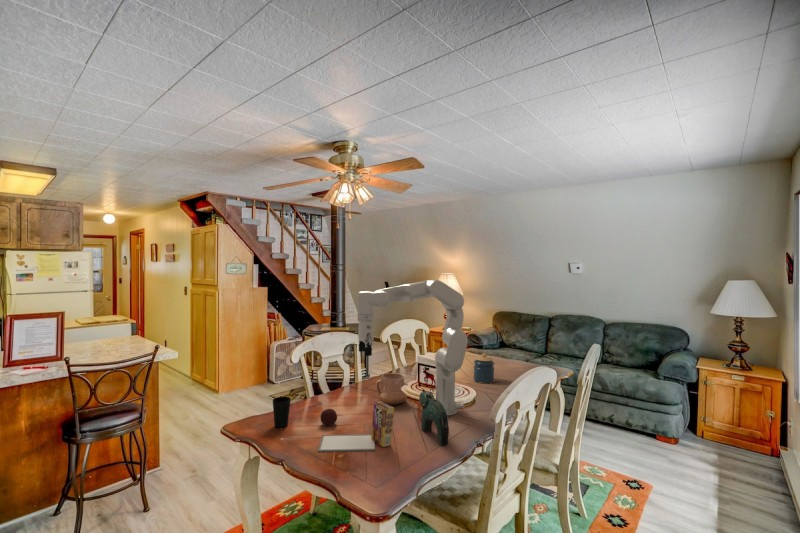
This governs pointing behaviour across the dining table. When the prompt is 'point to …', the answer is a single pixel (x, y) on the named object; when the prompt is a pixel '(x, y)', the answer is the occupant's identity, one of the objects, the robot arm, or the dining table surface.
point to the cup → (281, 411)
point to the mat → (346, 443)
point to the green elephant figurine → (434, 416)
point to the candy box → (382, 423)
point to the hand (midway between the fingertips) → (365, 353)
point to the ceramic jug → (392, 388)
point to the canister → (484, 369)
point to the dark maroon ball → (328, 417)
